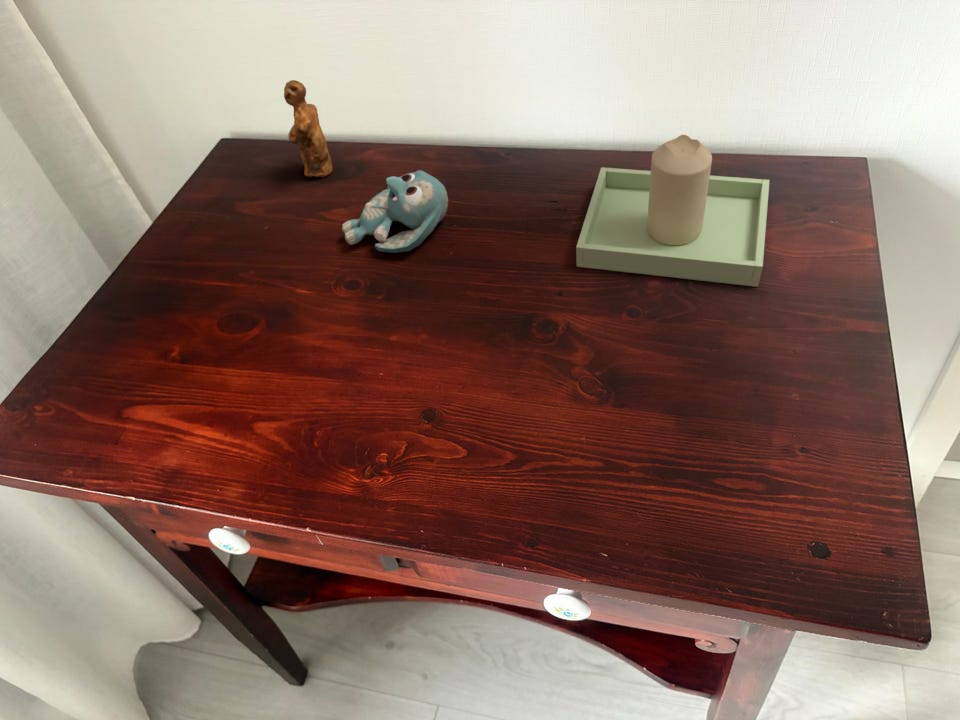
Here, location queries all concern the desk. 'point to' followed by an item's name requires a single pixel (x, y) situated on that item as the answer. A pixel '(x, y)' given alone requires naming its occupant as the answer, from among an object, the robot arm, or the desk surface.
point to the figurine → (307, 132)
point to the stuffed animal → (401, 212)
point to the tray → (711, 257)
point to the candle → (678, 190)
